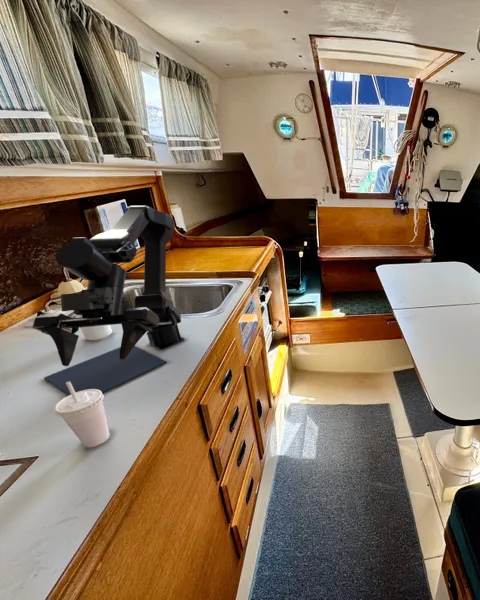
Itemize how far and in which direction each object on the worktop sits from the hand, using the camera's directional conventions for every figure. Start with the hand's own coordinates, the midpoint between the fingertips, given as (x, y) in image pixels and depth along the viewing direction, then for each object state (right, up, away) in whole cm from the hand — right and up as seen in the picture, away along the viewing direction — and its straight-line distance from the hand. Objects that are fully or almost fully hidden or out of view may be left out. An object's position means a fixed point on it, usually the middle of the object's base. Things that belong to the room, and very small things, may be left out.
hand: (94, 362), depth 63 cm
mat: (-14, -6, +18) cm, 24 cm away
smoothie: (+2, -15, -1) cm, 15 cm away
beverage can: (-30, +1, +33) cm, 44 cm away
